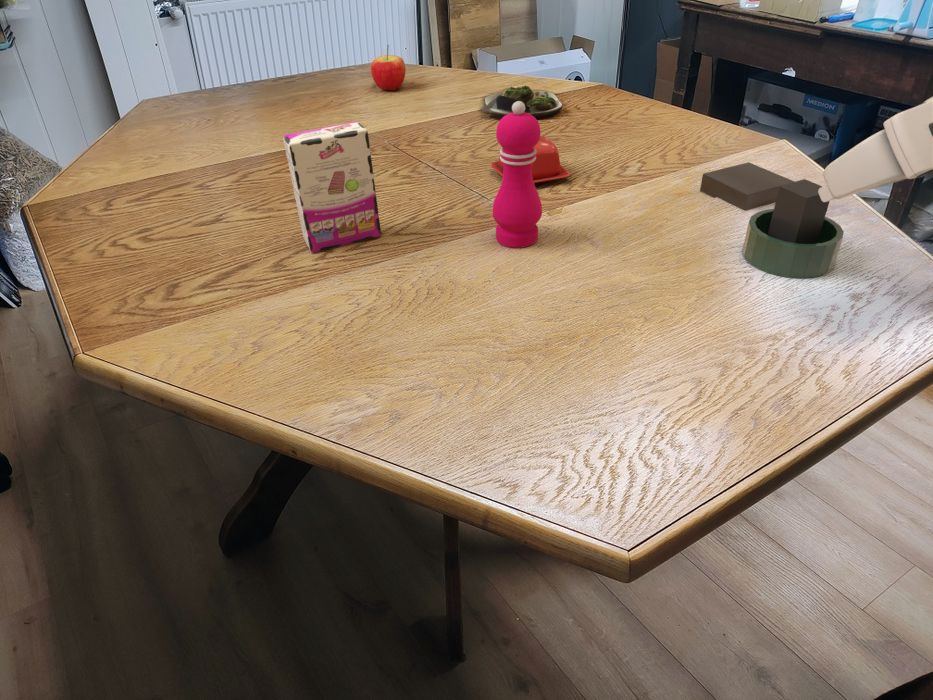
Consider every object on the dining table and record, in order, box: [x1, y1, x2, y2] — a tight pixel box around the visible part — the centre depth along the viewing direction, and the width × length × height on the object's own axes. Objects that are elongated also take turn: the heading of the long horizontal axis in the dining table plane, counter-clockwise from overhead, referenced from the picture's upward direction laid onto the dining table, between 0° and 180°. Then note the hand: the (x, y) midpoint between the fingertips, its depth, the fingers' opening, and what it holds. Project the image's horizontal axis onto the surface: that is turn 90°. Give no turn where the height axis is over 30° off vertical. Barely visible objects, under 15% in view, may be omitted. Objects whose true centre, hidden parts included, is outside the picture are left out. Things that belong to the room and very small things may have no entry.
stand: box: [699, 162, 796, 212], centre depth 111 cm, size 10×10×3 cm
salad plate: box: [481, 84, 563, 121], centre depth 152 cm, size 19×18×5 cm
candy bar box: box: [282, 121, 382, 254], centre depth 99 cm, size 11×5×16 cm, turn 115°
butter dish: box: [490, 134, 571, 184], centre depth 119 cm, size 12×12×8 cm
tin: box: [741, 208, 844, 280], centre depth 93 cm, size 12×12×5 cm
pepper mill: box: [491, 101, 543, 249], centre depth 96 cm, size 7×7×20 cm
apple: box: [370, 44, 406, 91], centre depth 166 cm, size 8×8×10 cm
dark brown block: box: [768, 178, 831, 244], centre depth 91 cm, size 4×4×10 cm
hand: (852, 187), depth 82 cm, fingers open, 8 cm apart
